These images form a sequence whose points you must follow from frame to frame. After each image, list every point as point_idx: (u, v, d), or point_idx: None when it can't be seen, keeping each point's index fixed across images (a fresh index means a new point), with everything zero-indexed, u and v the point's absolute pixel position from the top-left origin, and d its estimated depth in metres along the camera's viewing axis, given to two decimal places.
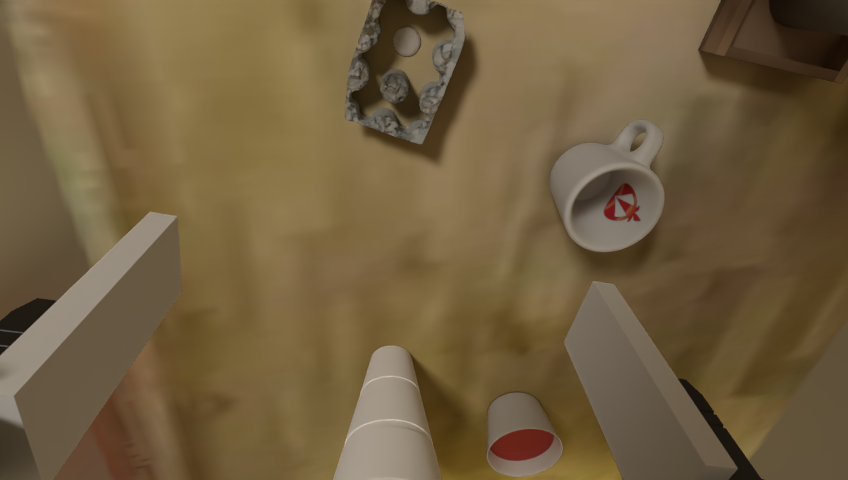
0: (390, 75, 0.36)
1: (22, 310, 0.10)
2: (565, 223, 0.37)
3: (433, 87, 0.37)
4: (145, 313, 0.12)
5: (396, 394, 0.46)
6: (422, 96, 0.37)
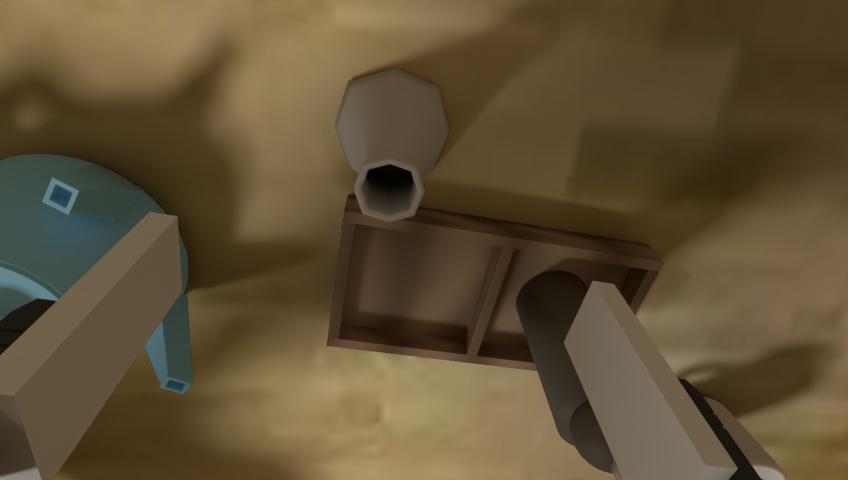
0: None
1: (22, 310, 0.10)
2: None
3: None
4: (145, 313, 0.12)
5: None
6: None
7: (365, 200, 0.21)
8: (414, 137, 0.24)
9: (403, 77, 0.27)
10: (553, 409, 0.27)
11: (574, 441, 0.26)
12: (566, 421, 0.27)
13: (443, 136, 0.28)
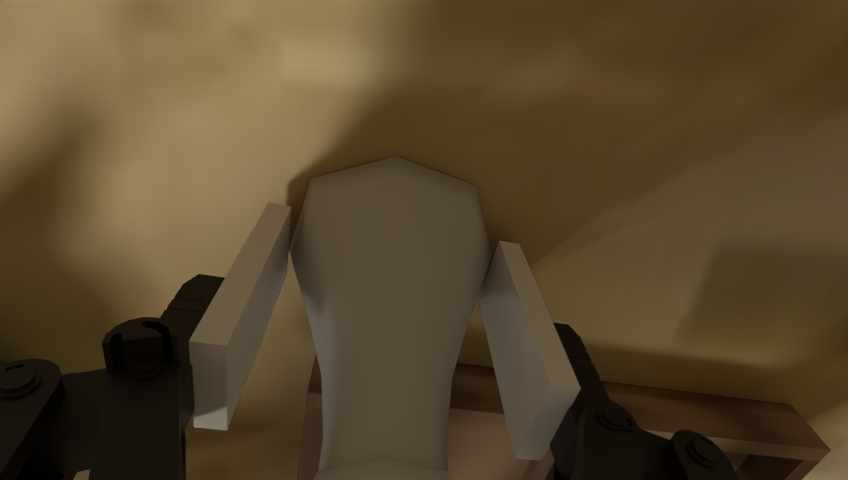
0: None
1: (191, 283, 0.12)
2: None
3: None
4: (272, 290, 0.14)
5: None
6: None
7: None
8: (436, 332, 0.11)
9: (411, 176, 0.14)
10: None
11: None
12: None
13: (483, 276, 0.16)
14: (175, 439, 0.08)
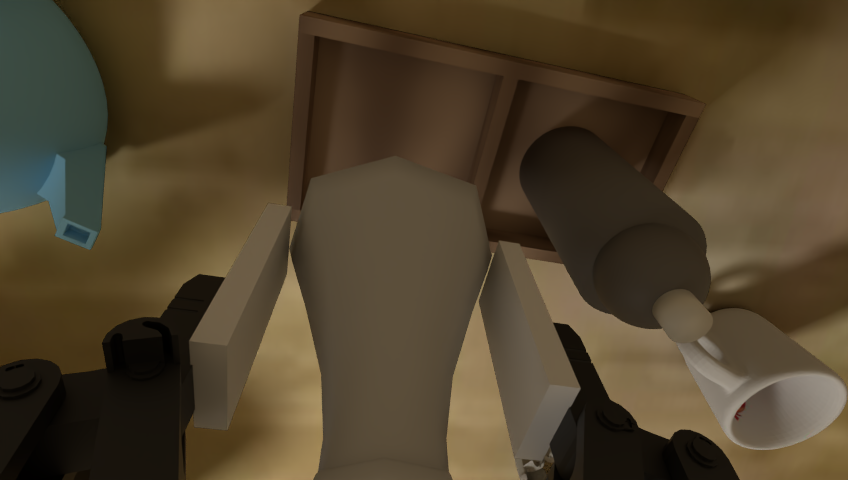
0: None
1: (192, 283, 0.12)
2: None
3: None
4: (272, 290, 0.14)
5: None
6: None
7: None
8: (436, 331, 0.11)
9: (412, 176, 0.14)
10: (570, 257, 0.21)
11: (600, 289, 0.19)
12: (587, 269, 0.20)
13: (483, 276, 0.16)
14: (175, 439, 0.08)
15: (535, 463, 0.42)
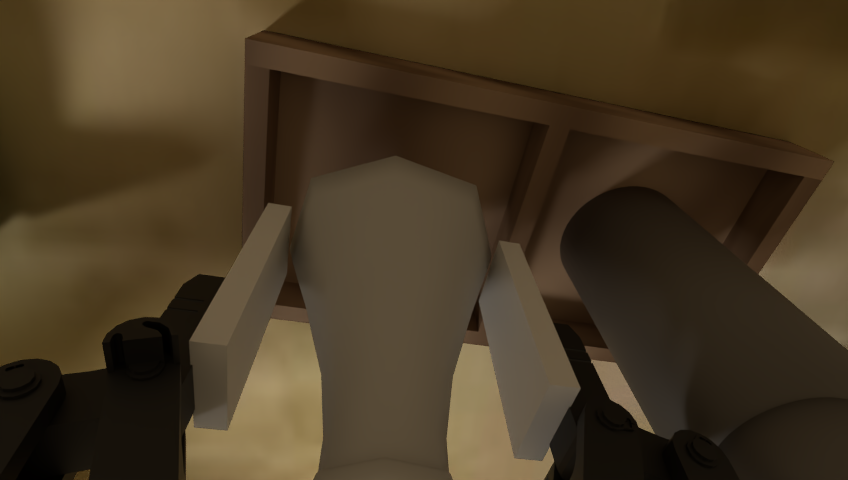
0: None
1: (192, 283, 0.12)
2: None
3: None
4: (272, 290, 0.14)
5: None
6: None
7: None
8: (437, 331, 0.11)
9: (412, 175, 0.14)
10: (670, 431, 0.13)
11: None
12: None
13: (483, 276, 0.16)
14: (175, 439, 0.08)
15: None
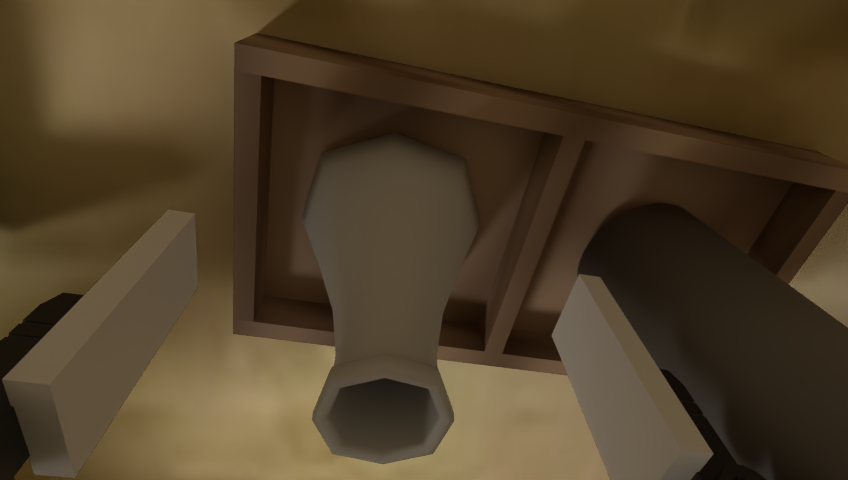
0: None
1: (50, 303, 0.10)
2: None
3: None
4: (165, 308, 0.13)
5: None
6: None
7: (337, 431, 0.11)
8: (429, 273, 0.13)
9: (409, 149, 0.17)
10: None
11: None
12: None
13: (472, 238, 0.18)
14: None
15: None
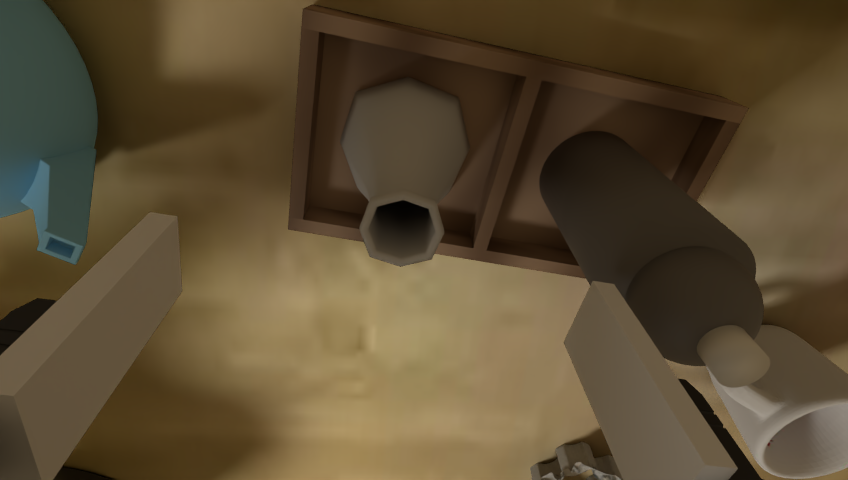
0: None
1: (23, 309, 0.10)
2: None
3: None
4: (145, 313, 0.12)
5: None
6: None
7: (373, 241, 0.18)
8: (431, 161, 0.20)
9: (418, 88, 0.23)
10: (600, 281, 0.18)
11: None
12: None
13: (463, 155, 0.25)
14: None
15: (555, 476, 0.40)
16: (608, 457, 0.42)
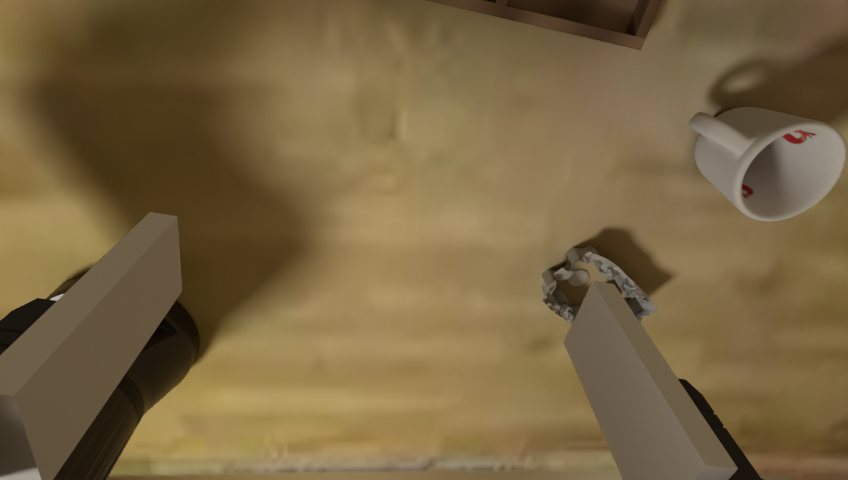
0: None
1: (23, 310, 0.10)
2: (784, 218, 0.36)
3: (623, 283, 0.46)
4: (145, 313, 0.12)
5: None
6: (624, 293, 0.46)
7: None
8: None
9: None
10: None
11: None
12: None
13: None
14: None
15: (566, 269, 0.45)
16: None
